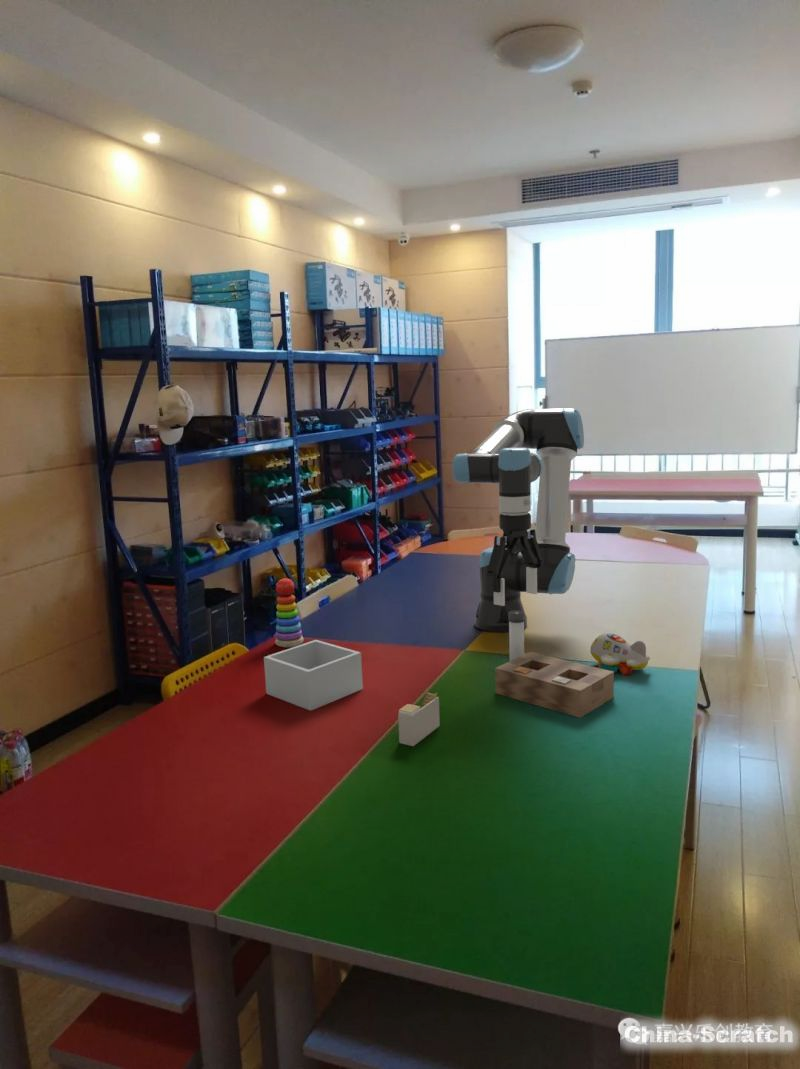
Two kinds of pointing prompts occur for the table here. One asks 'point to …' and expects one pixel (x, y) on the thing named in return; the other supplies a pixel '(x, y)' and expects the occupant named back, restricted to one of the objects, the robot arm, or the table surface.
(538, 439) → the robot arm
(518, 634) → the plug
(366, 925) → the table surface
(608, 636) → the toy airplane
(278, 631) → the stacking toy
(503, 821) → the table surface
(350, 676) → the box
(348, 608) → the table surface
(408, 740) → the model
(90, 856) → the table surface
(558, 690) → the socket block
